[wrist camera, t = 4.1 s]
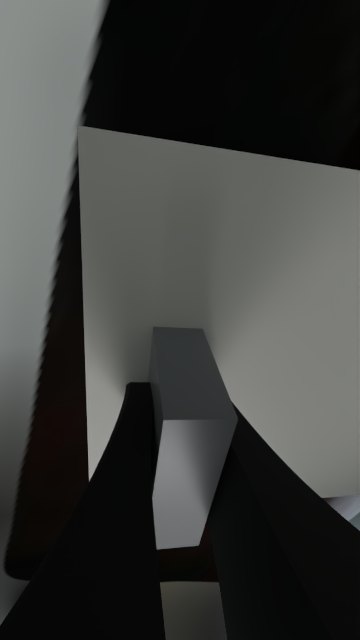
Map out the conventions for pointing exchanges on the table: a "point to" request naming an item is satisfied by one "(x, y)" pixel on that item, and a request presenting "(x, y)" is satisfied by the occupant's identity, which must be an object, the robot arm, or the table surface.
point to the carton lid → (220, 312)
